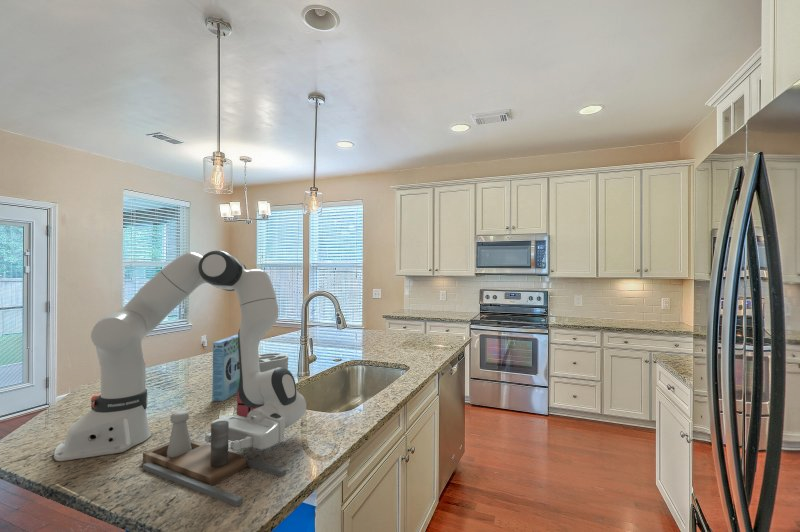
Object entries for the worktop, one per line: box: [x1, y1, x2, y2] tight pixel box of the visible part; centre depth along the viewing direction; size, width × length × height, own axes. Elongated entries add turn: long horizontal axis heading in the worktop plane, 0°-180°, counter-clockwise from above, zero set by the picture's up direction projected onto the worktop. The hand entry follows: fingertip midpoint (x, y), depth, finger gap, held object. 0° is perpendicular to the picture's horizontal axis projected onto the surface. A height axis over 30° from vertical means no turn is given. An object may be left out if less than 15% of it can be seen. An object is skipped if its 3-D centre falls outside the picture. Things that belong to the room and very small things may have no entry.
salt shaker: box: [166, 410, 192, 459], centre depth 104 cm, size 6×6×13 cm
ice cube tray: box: [259, 352, 289, 373], centre depth 185 cm, size 17×28×9 cm, turn 132°
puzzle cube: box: [236, 390, 263, 417], centre depth 137 cm, size 10×10×10 cm
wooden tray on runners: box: [142, 421, 248, 487], centre depth 101 cm, size 26×11×12 cm, turn 64°
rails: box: [142, 440, 287, 508], centre depth 98 cm, size 34×15×2 cm, turn 64°
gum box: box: [211, 334, 240, 402], centre depth 159 cm, size 20×5×23 cm, turn 177°
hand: (219, 442), depth 97 cm, fingers open, 8 cm apart
